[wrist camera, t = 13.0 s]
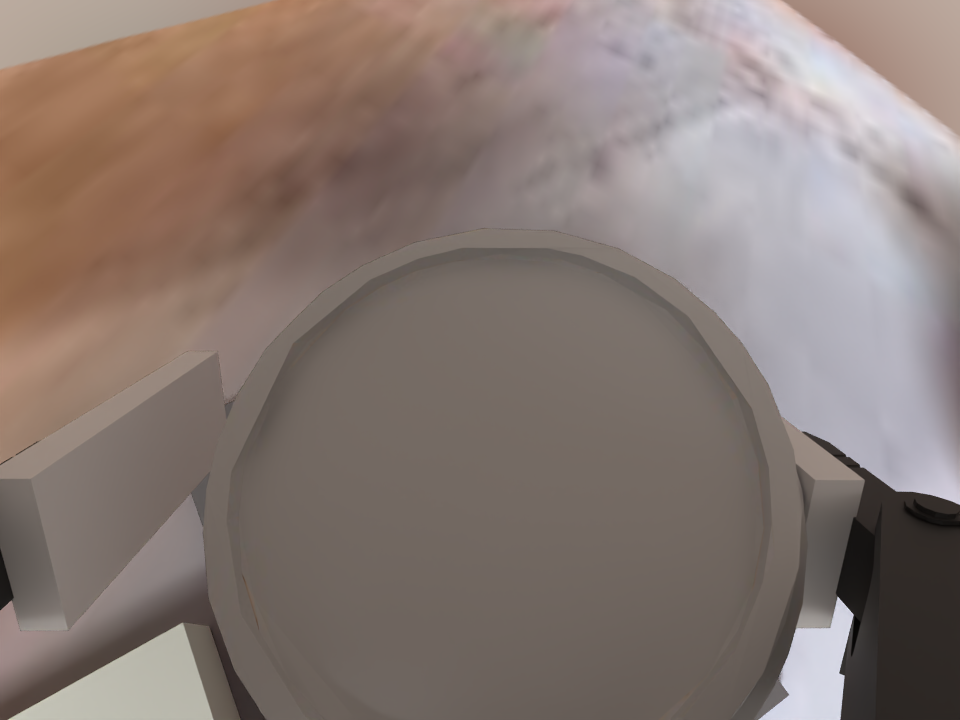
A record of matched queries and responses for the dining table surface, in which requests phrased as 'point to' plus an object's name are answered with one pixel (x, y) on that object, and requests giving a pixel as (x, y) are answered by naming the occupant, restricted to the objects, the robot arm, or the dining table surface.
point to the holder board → (149, 684)
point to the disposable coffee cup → (506, 497)
